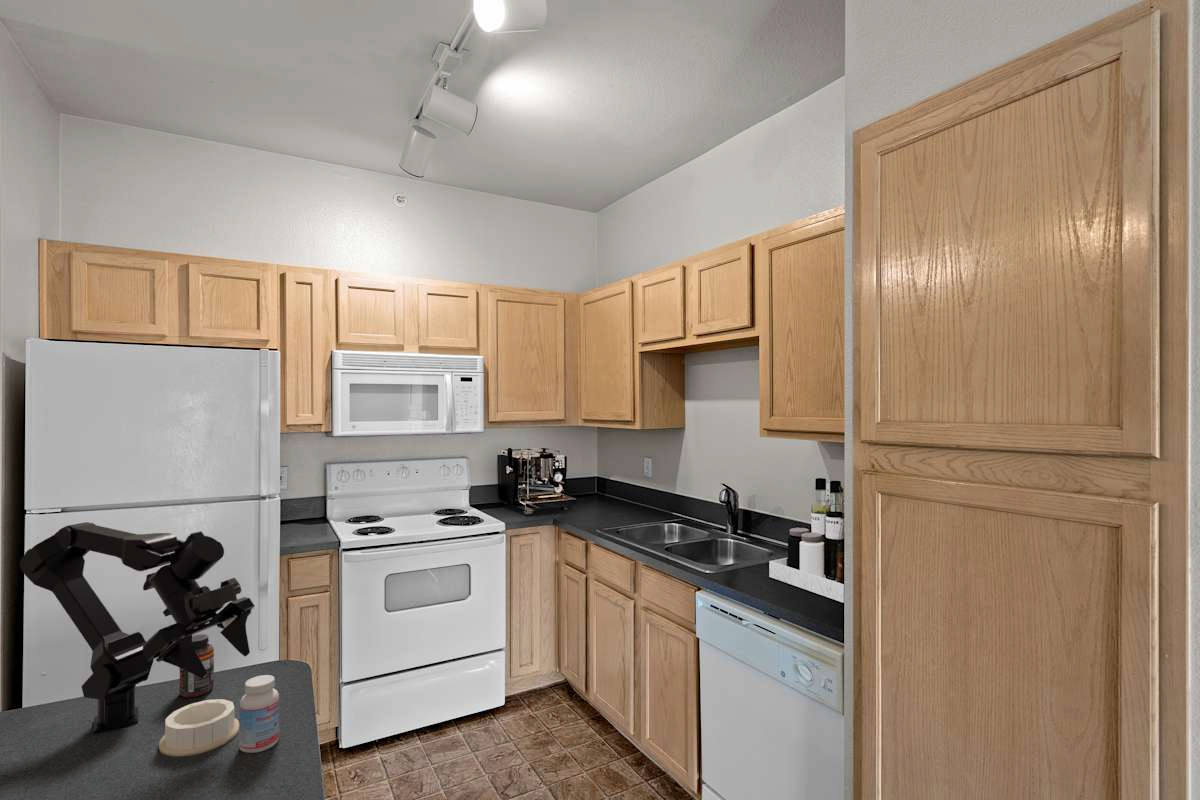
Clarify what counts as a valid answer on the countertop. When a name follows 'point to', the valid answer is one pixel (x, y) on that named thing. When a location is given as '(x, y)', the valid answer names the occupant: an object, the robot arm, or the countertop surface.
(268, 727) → the pill bottle
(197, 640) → the supplement bottle
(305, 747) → the countertop surface
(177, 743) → the socket dock
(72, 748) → the countertop surface
